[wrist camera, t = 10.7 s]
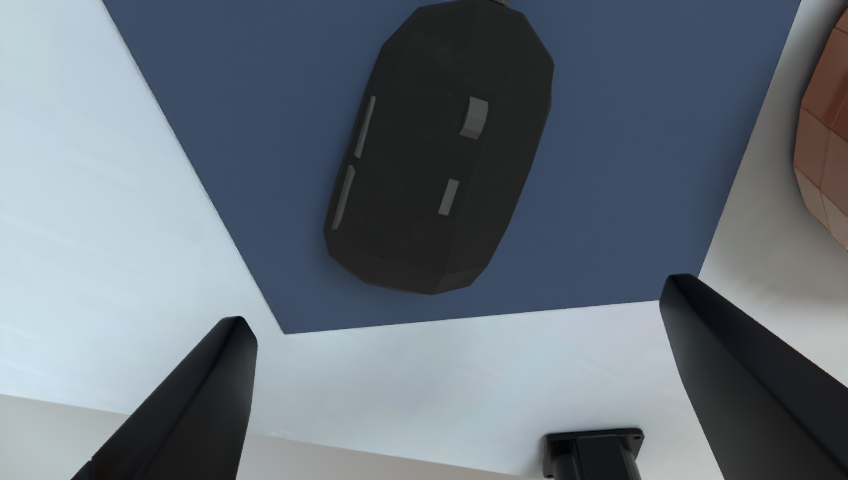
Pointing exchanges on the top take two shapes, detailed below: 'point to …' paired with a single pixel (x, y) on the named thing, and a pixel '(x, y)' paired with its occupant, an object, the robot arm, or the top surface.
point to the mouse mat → (549, 175)
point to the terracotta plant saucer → (826, 137)
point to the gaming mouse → (440, 147)
